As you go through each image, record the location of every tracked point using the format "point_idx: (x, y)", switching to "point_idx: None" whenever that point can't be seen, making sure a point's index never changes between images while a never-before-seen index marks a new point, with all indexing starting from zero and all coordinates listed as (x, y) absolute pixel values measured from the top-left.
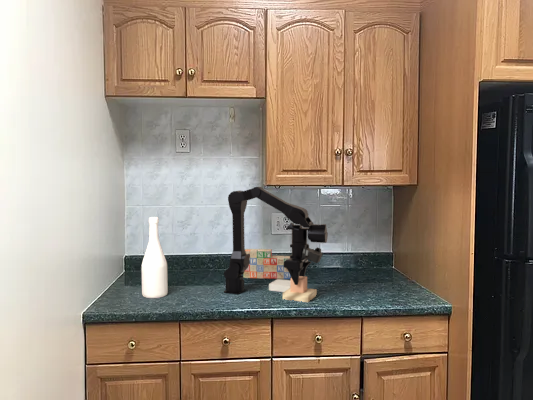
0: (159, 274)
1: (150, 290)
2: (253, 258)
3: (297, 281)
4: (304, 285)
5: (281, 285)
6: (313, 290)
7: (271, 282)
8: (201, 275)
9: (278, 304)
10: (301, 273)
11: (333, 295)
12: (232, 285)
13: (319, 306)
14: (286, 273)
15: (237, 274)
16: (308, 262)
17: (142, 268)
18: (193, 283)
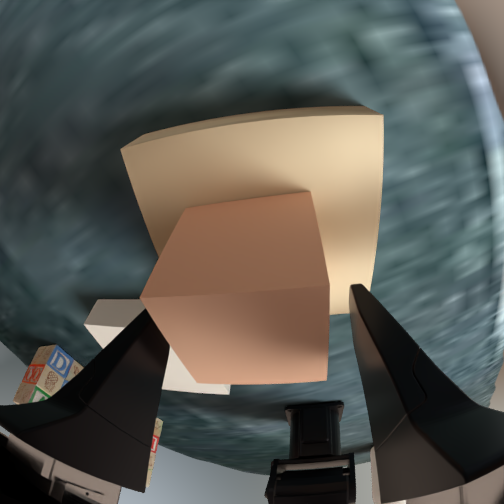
0: None
1: None
2: None
3: (384, 308)
4: (269, 230)
5: None
6: (169, 150)
7: (199, 392)
8: (217, 452)
9: (454, 257)
10: (145, 369)
11: (77, 45)
12: (339, 432)
13: (416, 5)
14: (59, 369)
15: (354, 465)
16: (23, 440)
17: None
18: (284, 450)
